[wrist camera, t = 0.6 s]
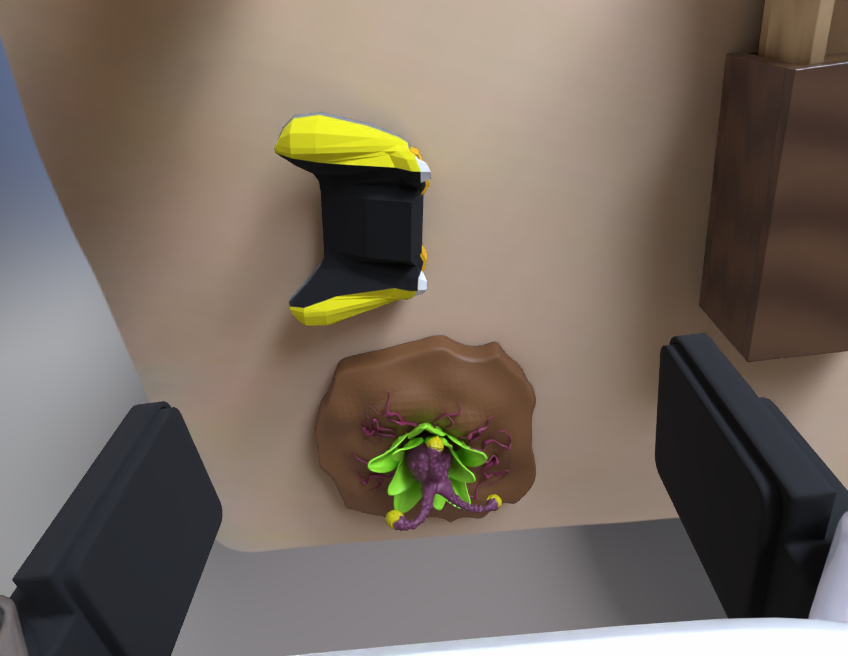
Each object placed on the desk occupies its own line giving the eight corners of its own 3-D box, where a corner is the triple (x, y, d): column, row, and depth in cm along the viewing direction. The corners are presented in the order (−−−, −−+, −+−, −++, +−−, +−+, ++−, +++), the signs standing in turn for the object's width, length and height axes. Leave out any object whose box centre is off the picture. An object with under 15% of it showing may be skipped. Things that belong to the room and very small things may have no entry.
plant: (299, 343, 50) (269, 430, 40) (533, 326, 49) (560, 411, 39) (336, 512, 60) (319, 615, 50) (532, 501, 59) (553, 602, 49)
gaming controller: (301, 300, 48) (425, 303, 48) (287, 335, 43) (425, 339, 43) (284, 104, 40) (432, 108, 41) (266, 120, 36) (433, 125, 36)
